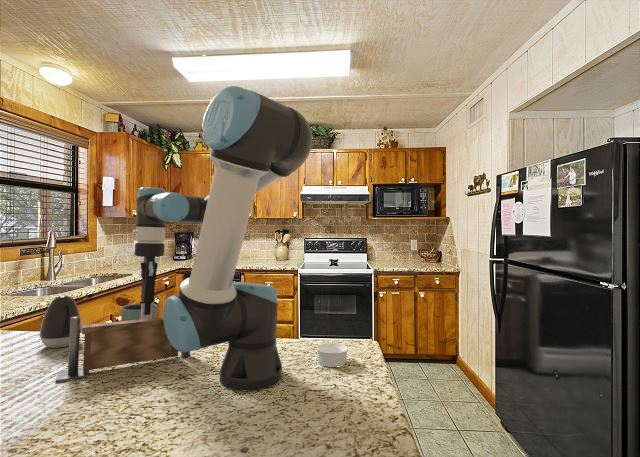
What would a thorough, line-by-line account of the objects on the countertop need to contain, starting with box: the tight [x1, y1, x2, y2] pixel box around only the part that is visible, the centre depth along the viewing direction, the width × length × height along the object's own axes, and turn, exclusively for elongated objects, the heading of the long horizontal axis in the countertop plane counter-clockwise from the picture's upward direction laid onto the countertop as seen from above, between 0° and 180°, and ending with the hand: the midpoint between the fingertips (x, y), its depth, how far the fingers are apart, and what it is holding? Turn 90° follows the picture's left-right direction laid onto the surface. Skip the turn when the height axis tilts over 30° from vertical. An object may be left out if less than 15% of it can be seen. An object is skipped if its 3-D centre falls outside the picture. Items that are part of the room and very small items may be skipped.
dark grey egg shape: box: [39, 294, 83, 349], centre depth 100 cm, size 10×10×15 cm
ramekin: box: [316, 342, 349, 368], centre depth 92 cm, size 9×9×4 cm
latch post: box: [180, 351, 191, 359], centre depth 93 cm, size 2×2×13 cm
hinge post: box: [54, 315, 89, 384], centre depth 79 cm, size 6×6×14 cm
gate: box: [81, 316, 179, 372], centre depth 86 cm, size 22×3×11 cm, turn 123°
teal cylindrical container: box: [120, 303, 158, 321], centre depth 103 cm, size 10×10×12 cm
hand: (146, 325), depth 92 cm, fingers closed
